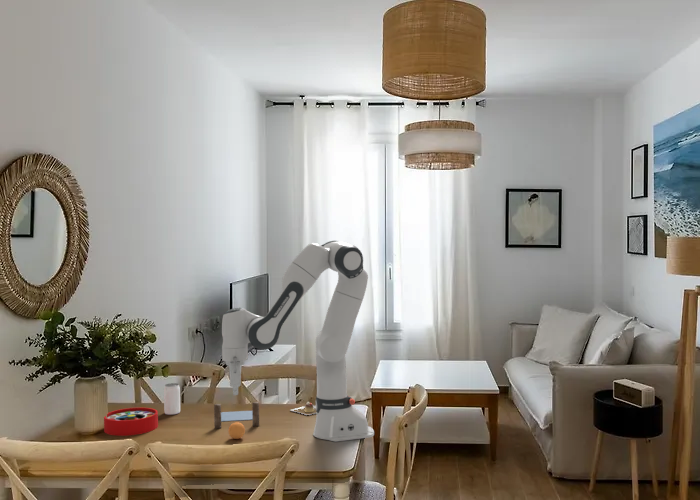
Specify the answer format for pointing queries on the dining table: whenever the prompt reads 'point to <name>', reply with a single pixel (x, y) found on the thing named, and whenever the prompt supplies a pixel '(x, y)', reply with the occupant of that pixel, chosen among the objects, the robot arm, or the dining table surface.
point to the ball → (236, 430)
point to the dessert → (306, 408)
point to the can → (172, 399)
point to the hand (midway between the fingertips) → (235, 394)
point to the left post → (217, 416)
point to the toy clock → (131, 421)
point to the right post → (255, 413)
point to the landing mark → (236, 416)
